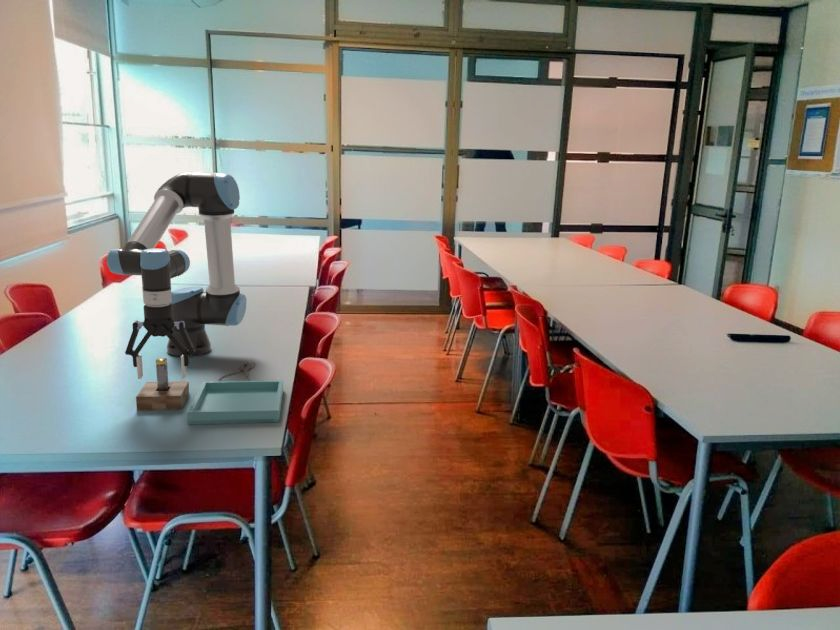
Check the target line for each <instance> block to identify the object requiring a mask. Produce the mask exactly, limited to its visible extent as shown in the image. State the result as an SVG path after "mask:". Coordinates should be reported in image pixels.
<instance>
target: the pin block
mask: <svg viewBox="0 0 840 630" xmlns="http://www.w3.org/2000/svg"><path fill="white" fill-rule="evenodd" d="M168 385H169V391H158V387H157V381H147V382H145V384H144V385H143V387H142V388H141V389H140V391H139V392H138V393H137V395H136V396H135V400H136V401H135V402H136V411H145V410H146V411H148V410H149V411H151V410H153V411H156V410H161V411H162V410H182V408H183V407H184V404H185V402H186V401H187V399H188V398H189V395H190V381H188V380H187V381H186V380H185V381H168Z"/></svg>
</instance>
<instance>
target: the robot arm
mask: <svg viewBox="0 0 840 630" xmlns="http://www.w3.org/2000/svg"><path fill="white" fill-rule="evenodd" d="M240 199H241V197H240V189H239V186H238V183H237V180H235V178H234V177H233V176H232V175H231V174H228V173H222V172H196V171H195V172H193V171H185V172H181V173H179V174H176V175H173V177H171V178H168V180H166V181H165V182H164V183H162V185H161V186H159V188H158V189H157V190H156V192H155V193H154V196H153V200H154V201H153V202H152V204H151V205H150V207H149V209H148V210H147V212H145V215H144V216H143V218H141V220H140V221H139V224H138V225H137V227H136V228H135V229H134V231H133V233H132V234H131V235H130V237H129V239H128V240H127V241H126V243H125V244H124V246H123V247H122V248H120V247H118V248H113V249H112V248H111V250H109V252H108V254H107V257H106V266H107V267H108V270H109V271H110V272H111V273H113V274H115V275H122V276H141V283H142V284H141V285H142V286H141V288H142V302H143V304H144V305H143V318H144V320H143V321H139V320H134V322H133V323H132V332H131V334H130V338H129V341H128V344H127V345H126V349H125V351H124V353H125V355H128V356H131V357H132V364H133V368H137V369H136V370H137V372H136V373H137V380H141V379H142V378H143V376H144V371H143V369H144V368H143V355H142V354H141V353H140V352H141V350H142V349H143V348H144V346H145V345H146V343H147V341H148V340H149V339H150V337H151V336H152V337H153V338H154V337H161V338H162V337H167V338H168V342H167V345H166V352H167V354H168V355H172V356H176V357H180V366H181V367H180V369H181V379H185V378H186V377H187V367H189V366H190V357H194V356H201V355H204V354H207V353H209V352H210V351H211V350H212V349H211V348H212V347H211V345H212V344H211V341H210V339H209V336H208V334H207V331H206V325H211V326H226V327H229V326H230V327H231V326H234V327H237V326H239V325H240V324H241V323H242V322H243V320H244V318H245V315H246V312H247V311H246V310H247V297H246V295H245V294H243V293H240V292H241V291H240V286H238V285H237V284H236V282H235V281H236V280H235V268H234V267H235V266H234V253H233V240H232V227H231V217H232V216H233V215H234V214H235V210H236V209H237V208H238V207H239V206H240ZM189 207H190V208H191V207H192V208H198V214H199V216H201V217H202V219H203V221H204V233H205V234H204V235H205V246H206V247H205V248H206V257H207V267H208V269H207V270H208V281H209V285H208V286H207V287H206V288H205V290H204V287H202V286H189V287H184V288H178V289H176V290H172V284H171V279H174V278H177V277H180V276H181V275H184V273H186V272H187V271H188V270H189V268H190V265H191V259H190V257H189V256H188V254H187V253H186V252H185V251H183V250H181V249H171V250H167V249H165V248H156V246H157V245H158V244H159V242H160V240H161V239H162V238H163V235H164V234H165V232H166V230H167V229H168V227H169V226H170V224H171V223H172V221H173V219H174V218H175V216H176V215H177V214H180V213H181V212H182V211H183V209H184V208H185V209H186V208H189ZM142 327H143V328H144V329H145V330H146V331H147V332H146V333H145V335H144V337H143V338H142V339H141V340H140V342H139V343H138V345H137V346H136V348H135V349H134V346H135V343H136V340H137V338H138V335H139V332H140V330H141V329H142Z"/></svg>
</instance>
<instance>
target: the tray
mask: <svg viewBox="0 0 840 630" xmlns="http://www.w3.org/2000/svg"><path fill="white" fill-rule="evenodd" d="M283 395H284V379H283V380H282V379H279V380H278V379H277V380H276V379H275V380H273V379H272V380H248V381H246V380H223V381H222V380H220V381H218V380H216V381H212V380H211V381H209V380H208V381H202V382H201V385H200V386H199V389H198V391H197V393H196V395H195V397H194V399H193V401H192V403H191V405H190V407H189V408H188V410H187V421H188V423H187V424H188V425H212V424H213V425H216V424H221V425H222V424H252V423H253V424H254V423H261V424H262V423H279V422H280V417H281V410H282V404H283Z"/></svg>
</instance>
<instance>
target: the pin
mask: <svg viewBox="0 0 840 630" xmlns="http://www.w3.org/2000/svg"><path fill="white" fill-rule="evenodd" d="M167 359H168V358H167V357H158V358H156V359H155V368H156V370H155V371H156V382H157V387H158V391H169V385H168V382H169V374H168V373H169V372H168V360H167Z"/></svg>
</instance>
